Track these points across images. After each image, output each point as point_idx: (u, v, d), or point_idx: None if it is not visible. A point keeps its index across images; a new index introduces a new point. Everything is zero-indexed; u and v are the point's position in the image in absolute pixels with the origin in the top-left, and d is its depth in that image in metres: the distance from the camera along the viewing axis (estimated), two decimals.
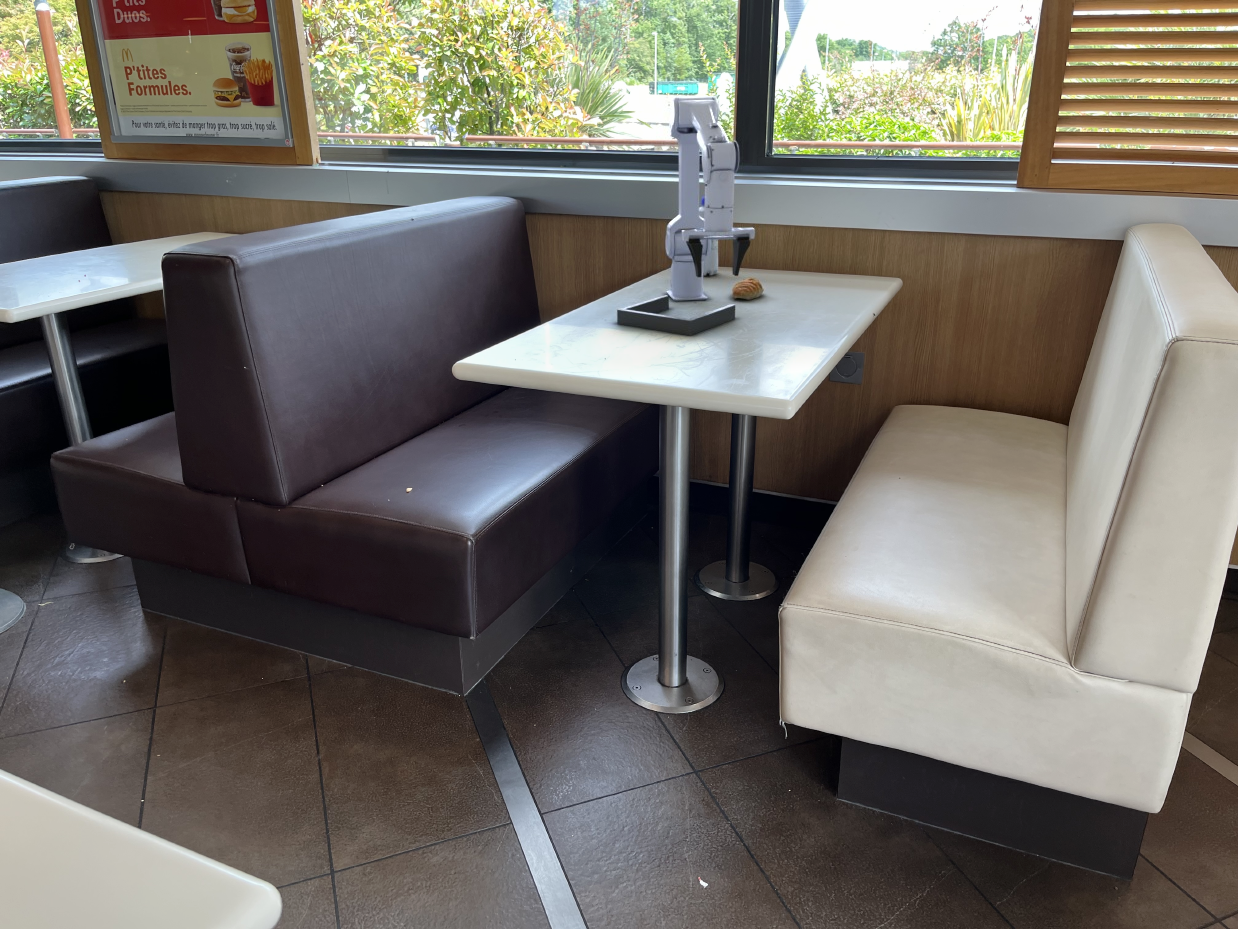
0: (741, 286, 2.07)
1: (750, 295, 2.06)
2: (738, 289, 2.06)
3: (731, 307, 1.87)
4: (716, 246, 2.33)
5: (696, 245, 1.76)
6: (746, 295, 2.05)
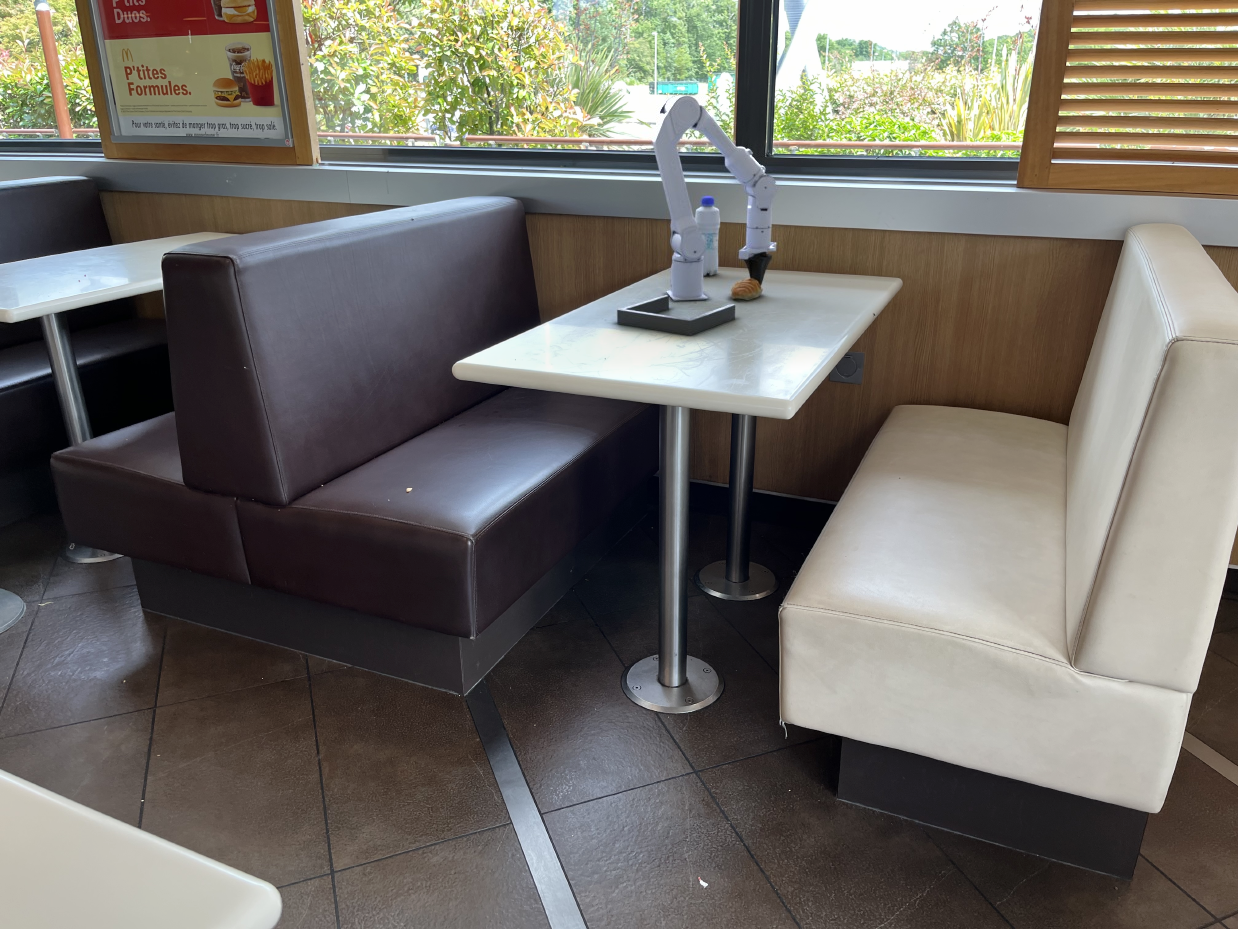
0: (740, 286, 2.07)
1: (749, 295, 2.06)
2: (737, 289, 2.06)
3: (731, 307, 1.87)
4: (716, 246, 2.33)
5: (765, 259, 2.08)
6: (744, 296, 2.05)
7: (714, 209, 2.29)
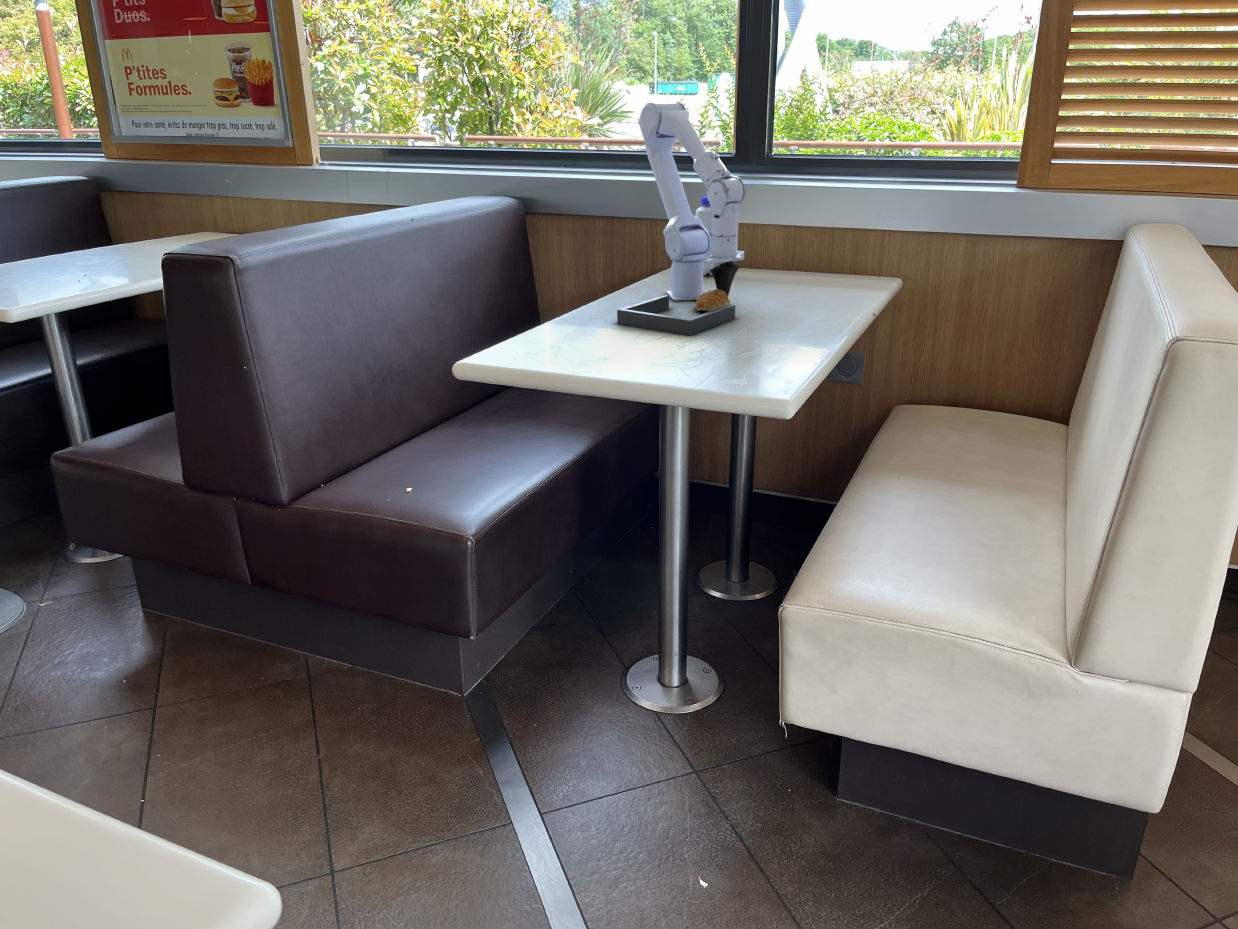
0: (705, 298, 1.96)
1: (714, 307, 1.94)
2: (701, 301, 1.95)
3: (731, 307, 1.87)
4: None
5: (732, 268, 1.96)
6: (709, 308, 1.94)
7: None
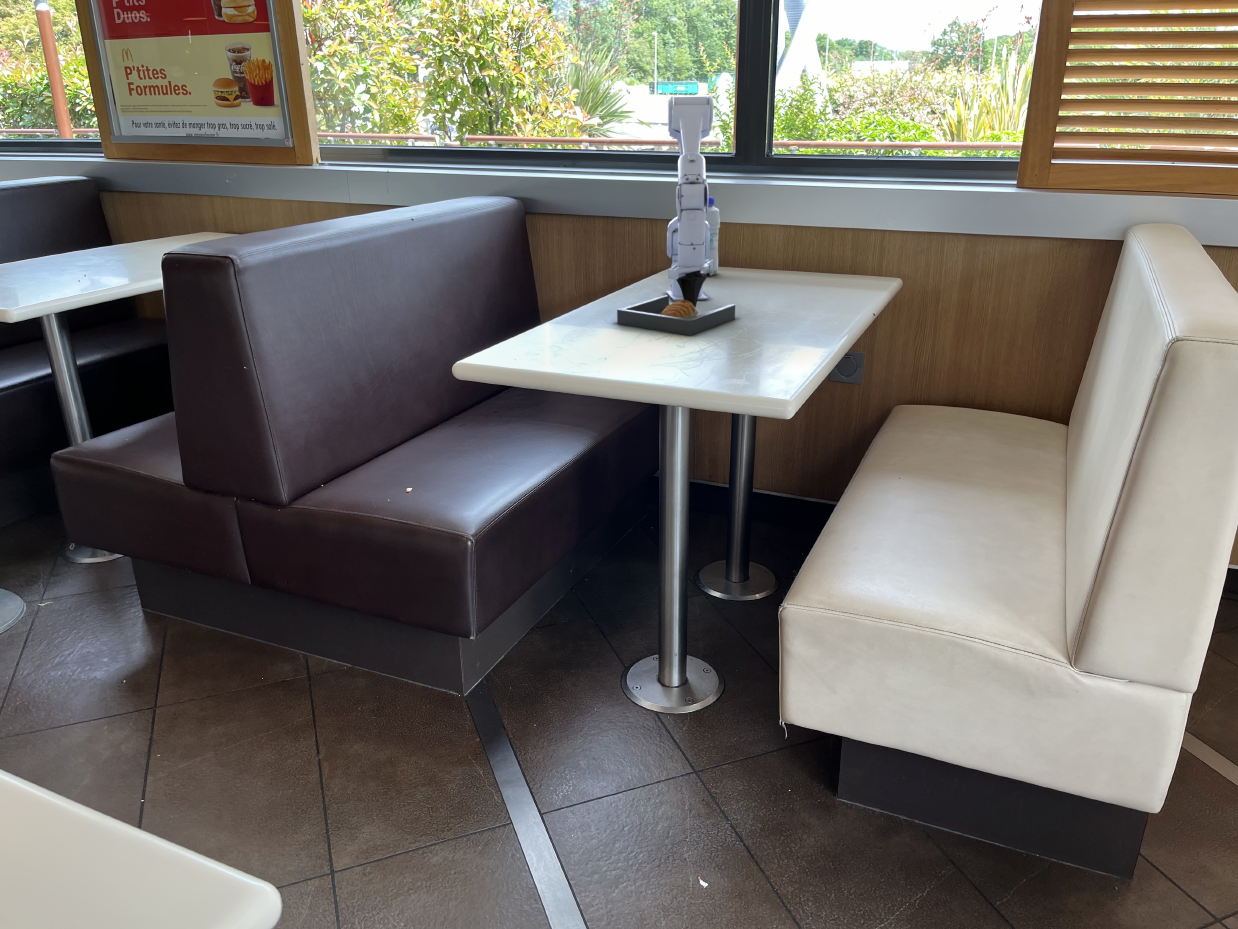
0: (670, 309, 1.86)
1: None
2: (667, 313, 1.85)
3: (731, 307, 1.87)
4: (716, 246, 2.33)
5: (699, 278, 1.87)
6: None
7: (714, 209, 2.29)
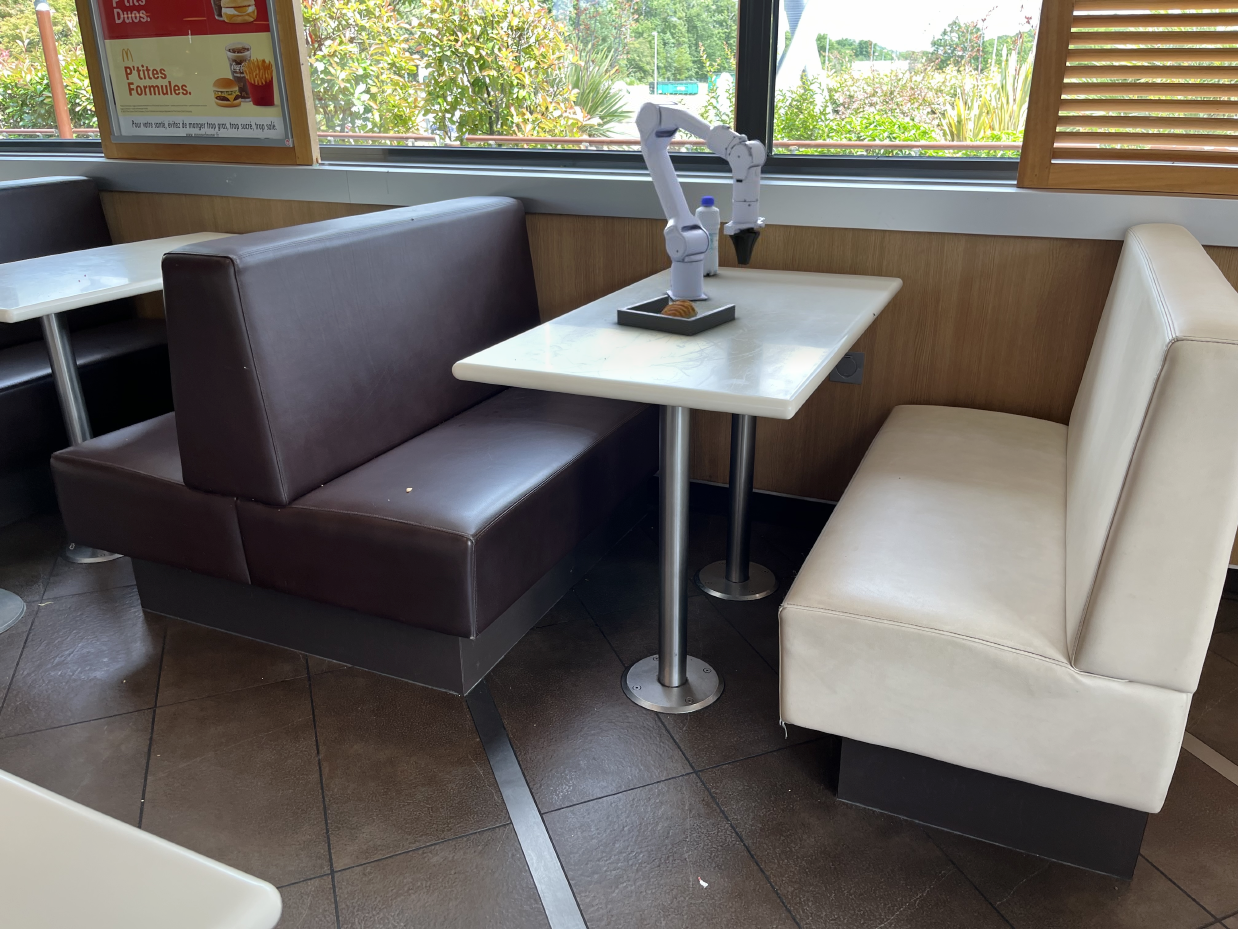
0: (670, 309, 1.86)
1: None
2: (667, 313, 1.85)
3: (731, 307, 1.87)
4: (716, 246, 2.33)
5: (752, 235, 1.92)
6: None
7: (714, 209, 2.29)
